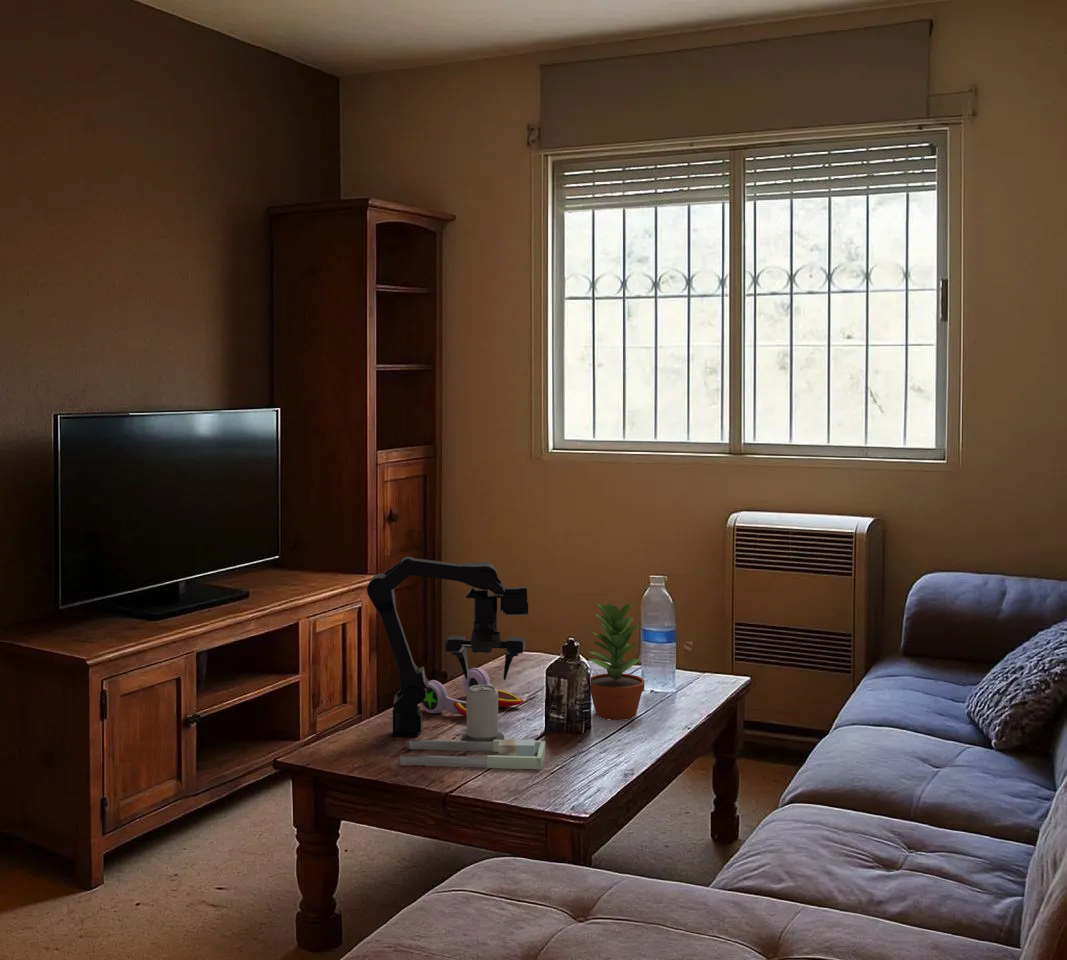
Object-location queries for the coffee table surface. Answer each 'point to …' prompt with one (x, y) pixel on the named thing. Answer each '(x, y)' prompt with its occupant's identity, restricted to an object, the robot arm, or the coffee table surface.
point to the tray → (517, 758)
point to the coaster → (497, 737)
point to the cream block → (508, 748)
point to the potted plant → (615, 668)
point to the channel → (447, 760)
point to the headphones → (440, 701)
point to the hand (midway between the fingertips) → (485, 679)
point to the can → (482, 712)
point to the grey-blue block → (526, 748)
